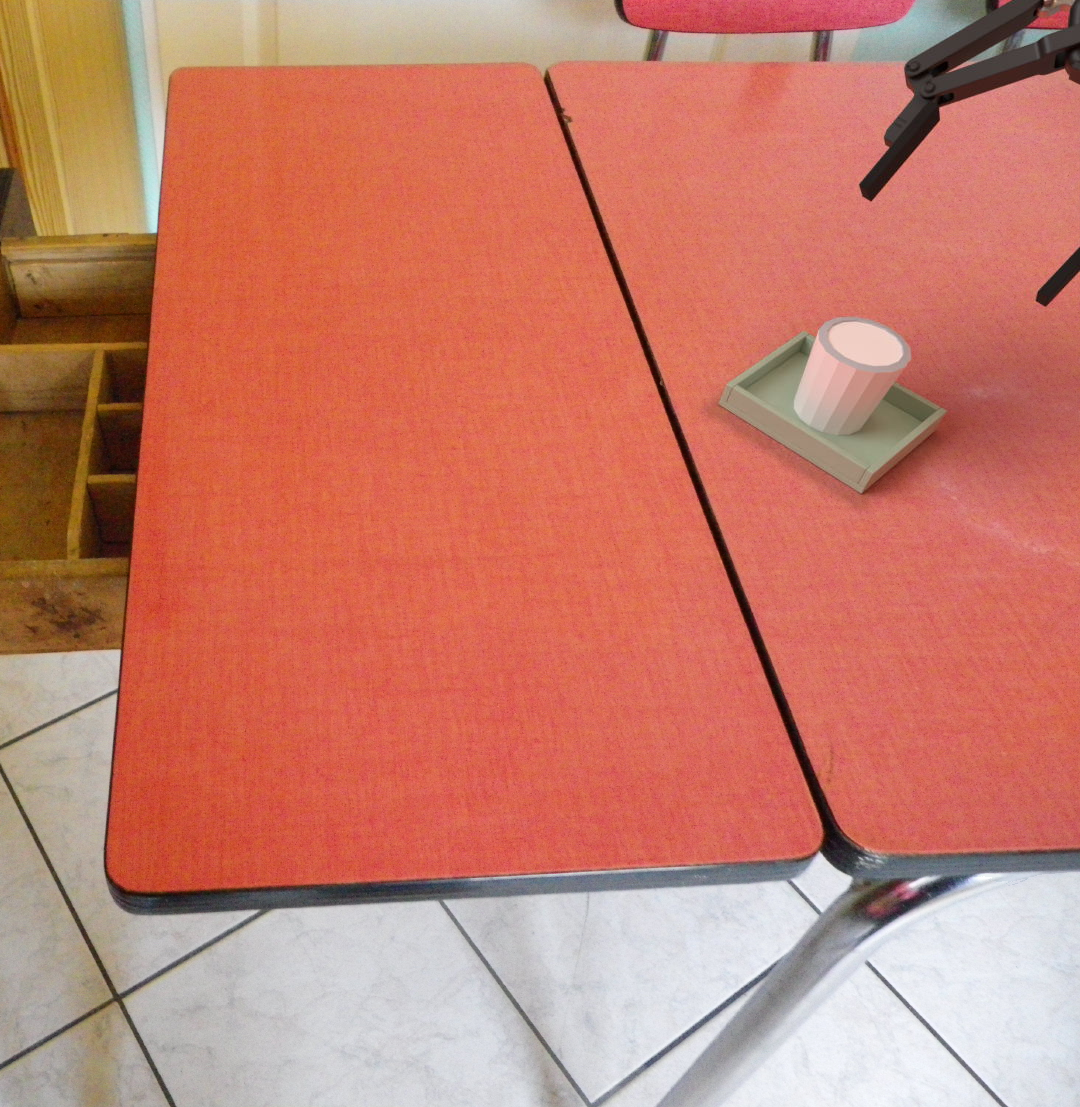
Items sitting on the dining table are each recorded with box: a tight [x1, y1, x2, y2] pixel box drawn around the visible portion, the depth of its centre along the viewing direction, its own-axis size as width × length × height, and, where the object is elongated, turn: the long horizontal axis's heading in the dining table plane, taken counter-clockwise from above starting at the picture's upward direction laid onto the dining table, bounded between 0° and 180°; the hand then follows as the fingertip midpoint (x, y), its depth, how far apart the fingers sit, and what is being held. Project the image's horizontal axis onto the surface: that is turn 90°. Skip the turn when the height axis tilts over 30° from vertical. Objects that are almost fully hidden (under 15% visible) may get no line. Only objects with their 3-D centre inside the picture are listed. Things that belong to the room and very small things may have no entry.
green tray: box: [718, 330, 948, 494], centre depth 82 cm, size 13×11×2 cm
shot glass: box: [794, 316, 912, 435], centre depth 80 cm, size 7×7×7 cm
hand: (949, 244), depth 69 cm, fingers open, 13 cm apart
